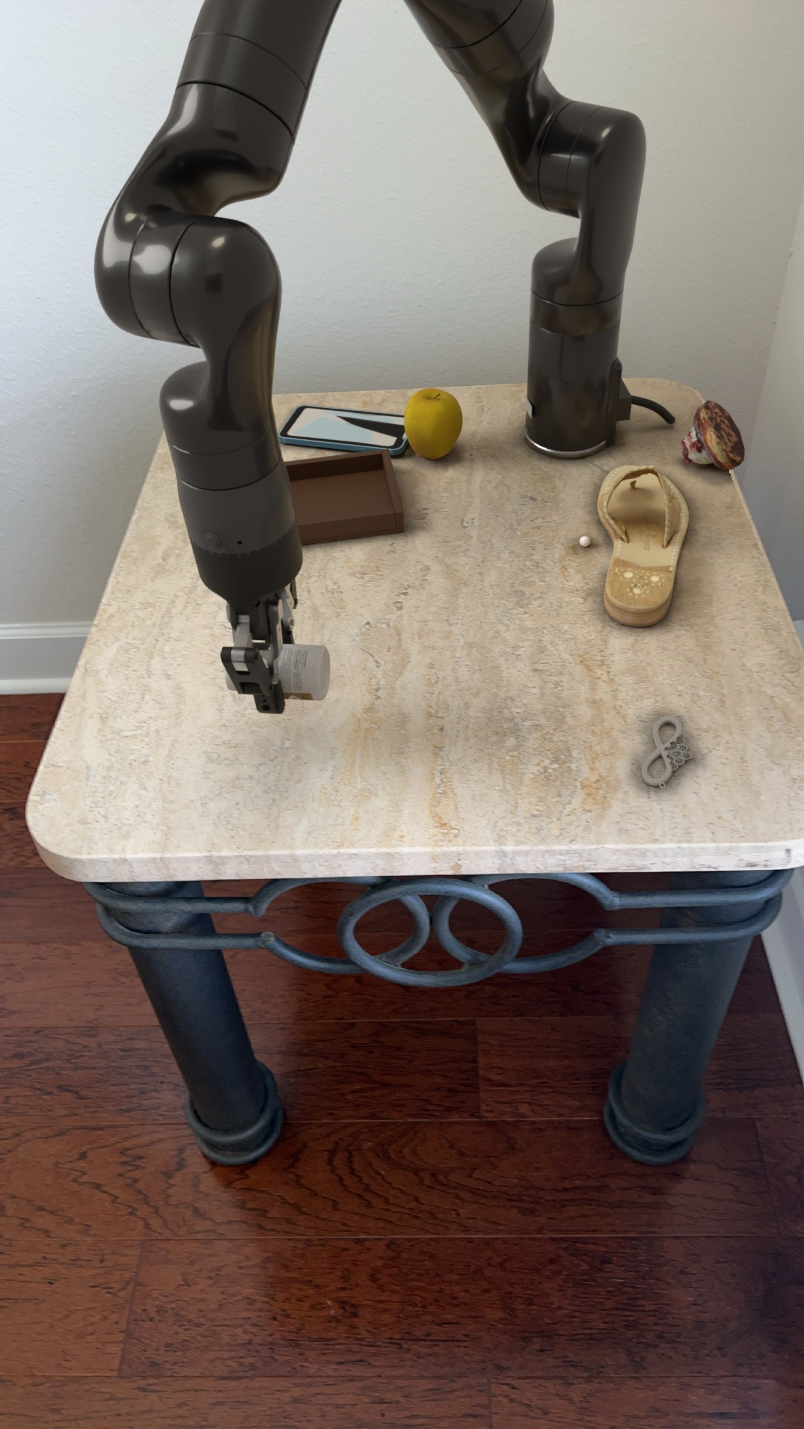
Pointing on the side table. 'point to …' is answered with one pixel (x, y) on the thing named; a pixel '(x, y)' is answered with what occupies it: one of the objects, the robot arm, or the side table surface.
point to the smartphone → (345, 429)
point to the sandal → (641, 542)
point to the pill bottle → (301, 672)
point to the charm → (666, 751)
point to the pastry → (713, 438)
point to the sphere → (585, 541)
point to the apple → (432, 422)
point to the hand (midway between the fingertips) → (278, 686)
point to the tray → (345, 496)
